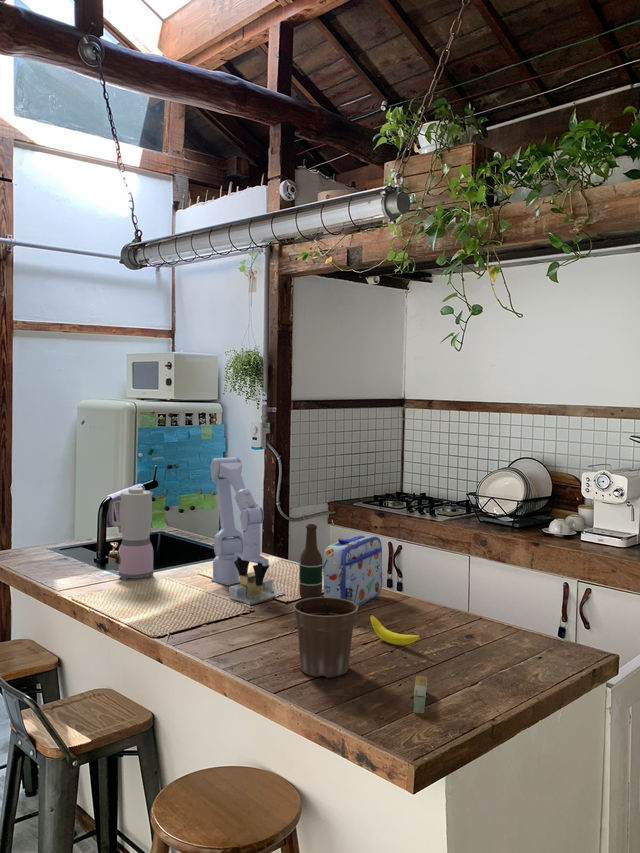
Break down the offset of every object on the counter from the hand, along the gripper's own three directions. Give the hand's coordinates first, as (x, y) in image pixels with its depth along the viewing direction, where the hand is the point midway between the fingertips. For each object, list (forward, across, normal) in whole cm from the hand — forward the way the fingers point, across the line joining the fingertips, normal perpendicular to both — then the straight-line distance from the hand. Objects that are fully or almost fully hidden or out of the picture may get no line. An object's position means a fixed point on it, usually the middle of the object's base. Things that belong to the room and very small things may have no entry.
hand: (251, 583), depth 249 cm
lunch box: (+4, +30, +17) cm, 35 cm away
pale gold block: (+3, -3, 0) cm, 4 cm away
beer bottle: (+4, +15, +13) cm, 20 cm away
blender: (+4, -46, -16) cm, 49 cm away
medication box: (+4, +88, -29) cm, 93 cm away
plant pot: (+4, +60, -30) cm, 67 cm away
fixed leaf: (+4, +3, 0) cm, 5 cm away
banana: (+4, +62, -4) cm, 62 cm away
